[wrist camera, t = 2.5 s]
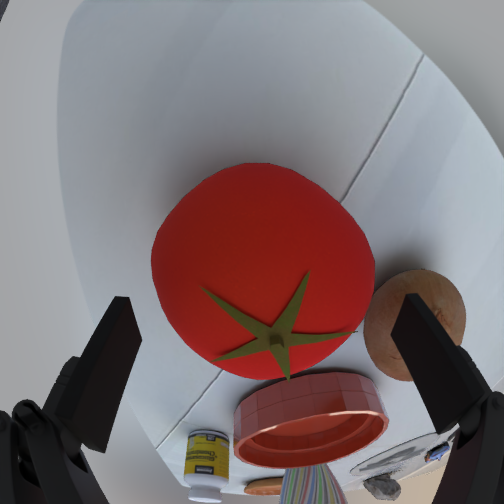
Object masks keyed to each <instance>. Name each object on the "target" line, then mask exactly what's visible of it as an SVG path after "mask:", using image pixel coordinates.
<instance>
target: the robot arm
mask: <svg viewBox="0 0 504 504" xmlns="http://www.w3.org/2000/svg"><path fill="white" fill-rule="evenodd" d="M390 336H391V337H392V339H393V341H394V343H395V345H396V347H397V349H398V351H399V353H400V355H401V357H402V358H403V360H404V362H405V364H406V366H407V368H408V370H409V372H410V374H411V376H412V379H413V381H414V383H415V385H416V387H417V389H418V391H419V393H420V395H421V398H422V400H423V402H424V404H425V406H426V409H427V411H428V413H429V415H430V418H431V420H432V422H433V425H434V427H435V430H436V432H437V435H440V434H442V433H445V432H447V431H449V430H451V429H452V428H453V427H454V426H455V425H456V424H457V423H458V424H459V426H460V427H459V428H458V429H457V430H456V431H455V432H454V433H453V434H451V435H450V436H449V438H448V440H447V441H450V440H451V439H452V438H453V437H454V436H455V438H454V439H453V440H452V442H453V446H452V449H451V453H450V456H449V459H448V462H447V465H446V469H445V472H444V474H443V477H442V480H441V483H440V485H439V487H438V490H437V492H436V495H435V497H434V499H433V502H432V504H504V394H502V393H501V392H497V391H495V392H492V390H491V389H490V387H489V386H488V384H487V382H486V381H485V379H484V377H483V376H482V374H481V372H480V371H479V369H478V368H476V365H475V363H474V361H472V358H471V357H470V355H469V354H468V352H467V351H466V350H464V349H463V348H462V347H461V346H460V345H458V346H456V345H455V343H454V342H453V340H452V339H451V337H450V336H449V335H448V333H447V332H446V330H445V329H444V327H443V326H442V325H441V323H440V322H439V321H438V319H437V318H436V316H435V315H434V314H433V312H432V311H431V310H430V308H429V307H428V306H427V304H426V303H425V302H424V301H423V299H422V298H421V297H420V295H419V294H418V293H410V294H406V295H405V298H404V300H403V303H402V306H401V309H400V311H399V314H398V316H397V319H396V322H395V324H394V327H393V329H392V332H391V334H390ZM141 342H142V337H141V334H140V331H139V328H138V325H137V322H136V319H135V315H134V312H133V309H132V305H131V302H130V298H129V297H120V296H115V297H114V299H113V300H112V302H111V304H110V305H109V307H108V309H107V310H106V312H105V314H104V315H103V317H102V319H101V321H100V322H99V324H98V326H97V328H96V329H95V331H94V333H93V335H92V336H91V338H90V340H89V342H88V344H87V346H86V347H85V349H84V351H83V353H82V355H81V357H75V356H73V357H71V358H70V359H69V360H68V361H67V362H66V363H65V365H64V366H63V368H62V370H61V372H60V375H59V376H58V378H57V380H56V383H54V385H53V387H52V389H51V391H50V394H49V396H48V398H47V400H46V402H45V404H44V406H43V408H42V410H41V409H40V407H39V406H38V405H37V404H36V403H35V402H34V401H32V400H28V399H26V400H22V401H20V402H18V403H17V404H16V406H15V407H14V409H13V411H12V418H11V417H10V416H9V415H8V414H7V413H6V412H5V411H1V410H0V504H109V502H108V500H107V499H106V497H105V495H104V493H103V492H102V490H101V488H100V486H99V484H98V482H97V480H96V478H95V476H94V475H93V472H92V470H91V468H90V466H89V464H88V462H87V460H86V458H85V456H84V453H83V452H82V450H81V445H82V443H83V444H84V445H85V446H86V447H88V448H89V449H92V450H95V451H98V452H101V453H105V451H106V448H107V444H108V441H109V437H110V434H111V430H112V427H113V423H114V420H115V417H116V414H117V411H118V408H119V404H120V401H121V398H122V395H123V392H124V389H125V386H126V384H127V381H128V378H129V375H130V372H131V369H132V366H133V364H134V361H135V358H136V355H137V353H138V350H139V347H140V345H141ZM18 456H19V460H18Z"/></svg>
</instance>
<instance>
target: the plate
mask: <svg viewBox="0 0 504 504" xmlns="http://www.w3.org/2000/svg"><path fill="white" fill-rule="evenodd" d="M439 437H440V435H437V433H431V434H427V435H424V436H421V437H419V438H416V439H413V440H411V441H408V442H406V443H403V444H401V445H399V446H396V447H394V448H392V449H390V450H387V451H385V452H383V453H381V454H379V455H376V456H374V457H372V458H370V459H368V460H366V461H364V462H362V463H361V464H359V465H357V466H356V467H354V468H353V469H352V470H351V471H350V474H351V475H354V476H360V475H367V474H372V473H376V472H379V471H382V470H385V469H388V468H391V467H394V466H396V465H398V464H401V463H403V462H405V461H407V460H409V459H411V458H413V457H415V456H417V455H420V454H421V453H422V452H423V451H425V450H426V449H428V448H429V447H430V446H432V445H433V444H434V443H435V442H436V441H437V440H438V439H439Z"/></svg>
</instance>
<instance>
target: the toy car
mask: <svg viewBox="0 0 504 504" xmlns="http://www.w3.org/2000/svg"><path fill="white" fill-rule="evenodd" d="M449 448H450V446H449V444H448V442H446V443H444V447H443V446H442V447H441V448H439V449H437V450H435V451H434V452H432V451H429V452H427V456H426V457H425V462H427V463H428V462H429V461H434V460H436V459H438V458H439V459H441V457H442V456H443V454H444V453H445V452H446V451H447V450H449ZM439 459H438V460H439ZM439 461H440V460H439Z"/></svg>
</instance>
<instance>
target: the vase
mask: <svg viewBox="0 0 504 504" xmlns="http://www.w3.org/2000/svg"><path fill="white" fill-rule="evenodd" d="M279 504H348V503H347V500H346V498H345V495H344V493H343V491H342V489H341V487H340V485H339V483H338V481H337V480H336V478H335V476H334V475H333V473H332V472H331V470H330V469H329V467H328V465H327V464H326V463H324V464H320V465H315V466H310V467H302V468H293V469H285V473H284V478H283V482H282V487H281V493H280V501H279Z"/></svg>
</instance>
